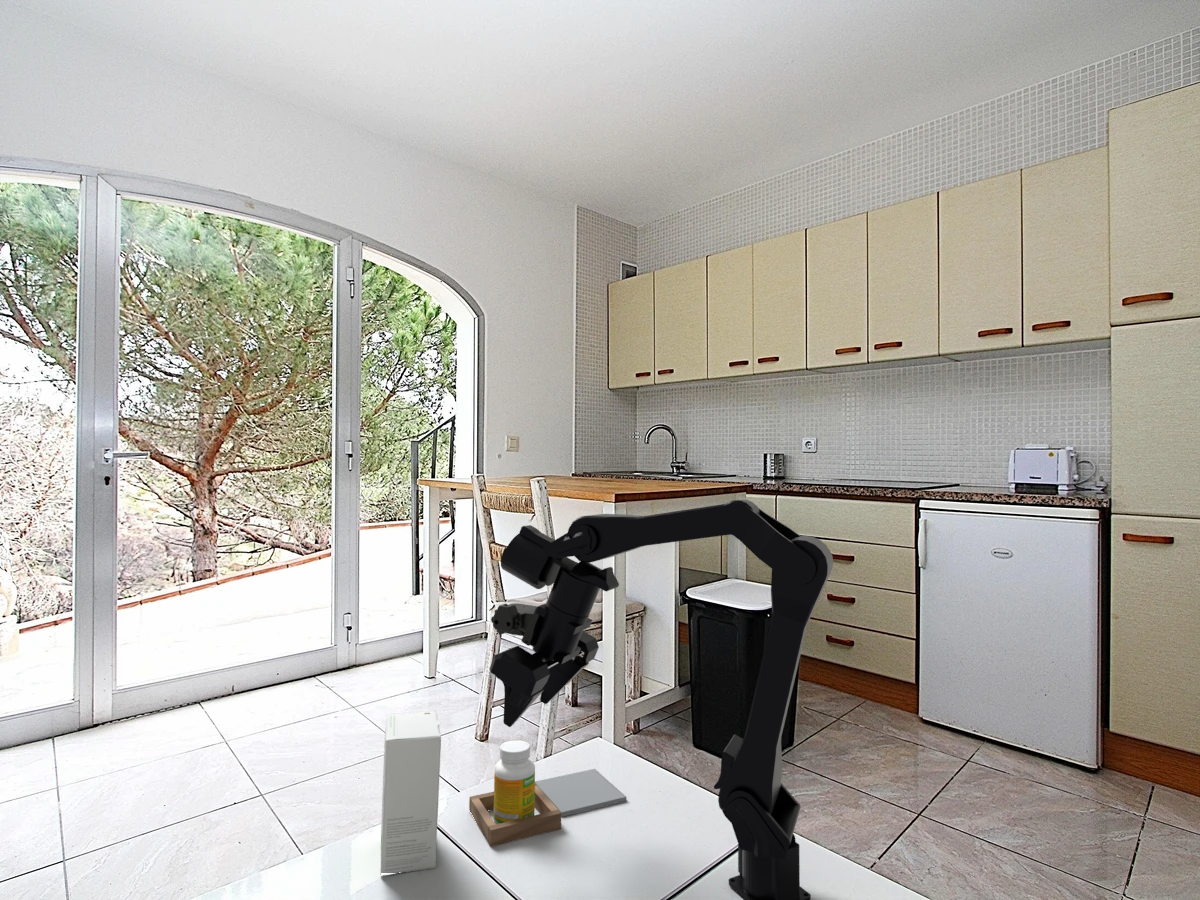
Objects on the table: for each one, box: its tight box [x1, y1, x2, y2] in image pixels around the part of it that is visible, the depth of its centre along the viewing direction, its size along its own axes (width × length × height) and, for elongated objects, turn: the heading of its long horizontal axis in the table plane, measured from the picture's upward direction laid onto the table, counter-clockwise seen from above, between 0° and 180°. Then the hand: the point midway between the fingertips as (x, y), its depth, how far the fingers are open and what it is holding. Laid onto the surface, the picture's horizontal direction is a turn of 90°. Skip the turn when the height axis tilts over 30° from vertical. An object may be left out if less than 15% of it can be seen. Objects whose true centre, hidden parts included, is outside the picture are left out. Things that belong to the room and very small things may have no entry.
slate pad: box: [535, 768, 627, 818], centre depth 95 cm, size 10×10×1 cm
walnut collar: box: [468, 784, 562, 848], centre depth 87 cm, size 10×10×2 cm
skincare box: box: [380, 710, 442, 874], centre depth 79 cm, size 8×7×16 cm
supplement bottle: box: [493, 740, 536, 824], centre depth 87 cm, size 5×5×10 cm
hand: (526, 713), depth 85 cm, fingers open, 9 cm apart
